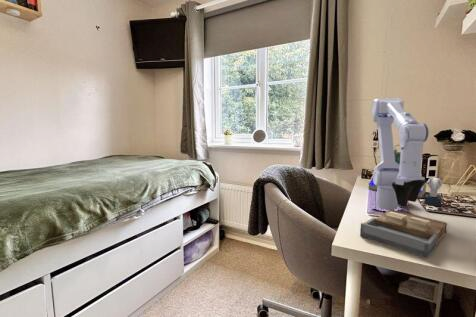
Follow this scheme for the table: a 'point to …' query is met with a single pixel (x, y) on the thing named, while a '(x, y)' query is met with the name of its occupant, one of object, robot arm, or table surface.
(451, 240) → the table surface
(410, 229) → the walnut board
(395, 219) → the tile
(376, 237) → the slate bin
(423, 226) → the tile
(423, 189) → the roof
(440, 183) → the grey and teal figurine
